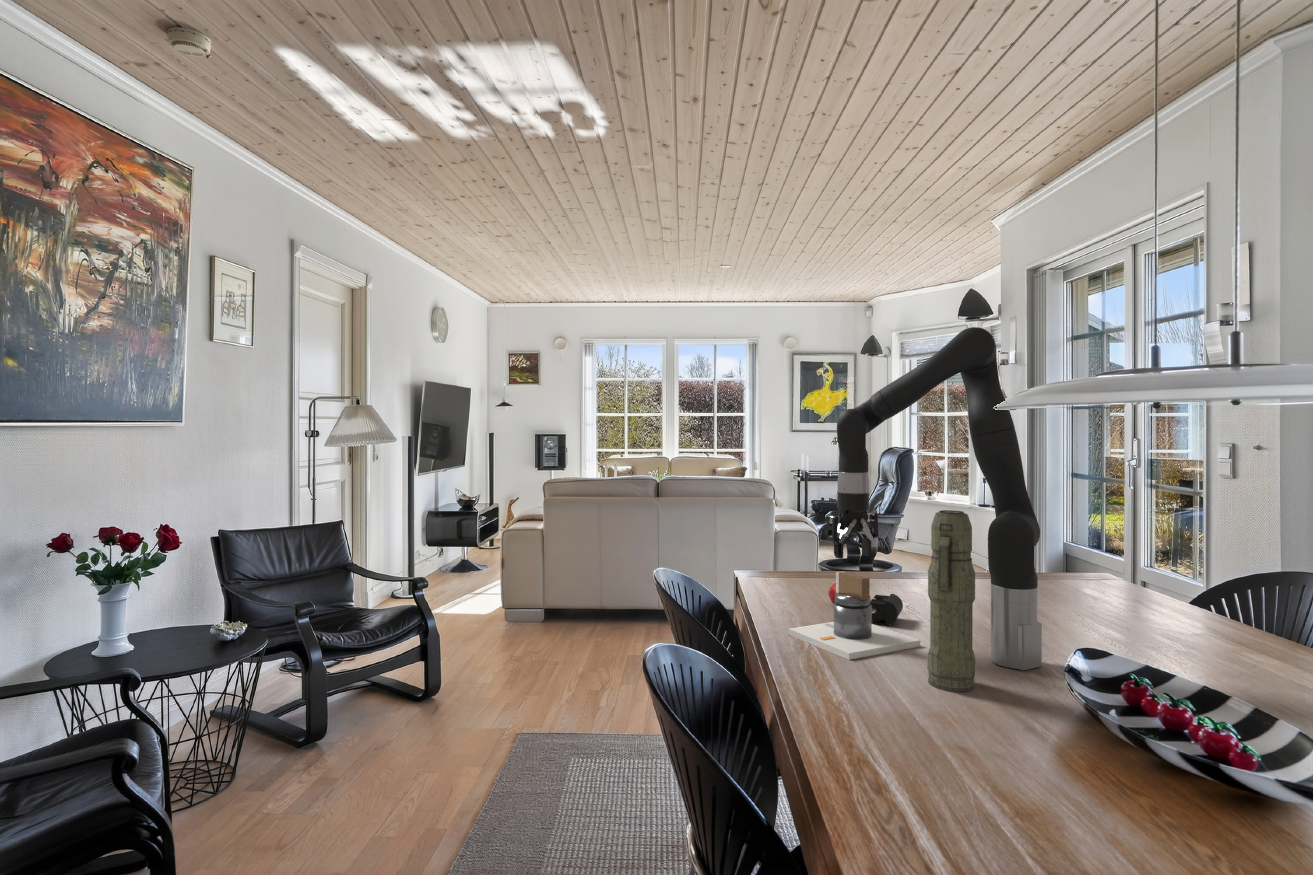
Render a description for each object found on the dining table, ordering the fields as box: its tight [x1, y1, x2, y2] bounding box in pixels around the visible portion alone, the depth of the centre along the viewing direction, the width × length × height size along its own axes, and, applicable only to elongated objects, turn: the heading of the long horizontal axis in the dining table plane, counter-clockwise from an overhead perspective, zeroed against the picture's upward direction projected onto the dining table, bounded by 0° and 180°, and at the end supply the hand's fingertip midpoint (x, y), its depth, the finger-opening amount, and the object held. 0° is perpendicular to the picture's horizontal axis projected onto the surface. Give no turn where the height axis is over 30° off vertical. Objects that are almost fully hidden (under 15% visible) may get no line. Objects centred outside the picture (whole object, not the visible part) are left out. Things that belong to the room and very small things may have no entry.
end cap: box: [871, 593, 904, 627], centre depth 190 cm, size 10×7×7 cm
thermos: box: [926, 509, 976, 693], centre depth 143 cm, size 9×12×35 cm
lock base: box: [788, 603, 921, 661], centre depth 173 cm, size 22×22×9 cm
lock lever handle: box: [835, 570, 872, 608], centre depth 173 cm, size 9×8×7 cm
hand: (852, 556), depth 173 cm, fingers open, 8 cm apart
